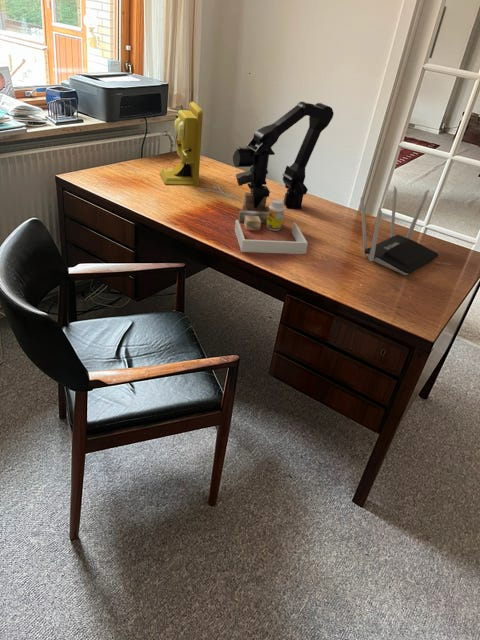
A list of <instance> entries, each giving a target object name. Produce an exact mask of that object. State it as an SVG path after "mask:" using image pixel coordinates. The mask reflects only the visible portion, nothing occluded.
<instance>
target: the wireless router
mask: <svg viewBox="0 0 480 640" xmlns="http://www.w3.org/2000/svg"><path fill="white" fill-rule="evenodd" d="M397 193H398V190H397V188H396V186H395V185H394V186H393V195H392V196H393V198H392V211H391V221H390V222H391V223H390V235H389V238H387V239H385V240H383V241H380V242H378V238H379V237H378V236H379V232H380V231H379V230H380V227H381V226H380V225H381V219H382V213H383V211H382V208H378V210H377V215H376V220H375V226H374V231H373V236H372V241H371V246H369V247H368V243H367V242H368V241H367V240H368V239H367V230H366V229H367V226H366V213H365V212H366V210H365V199H364V197H360V208H361V209H360V213H361V214H360V215H361V228H362V246H363V249H362V250H363V255H367V258H368V261H369V262H375V263H377V264H379V265H381V266H383V267H384V268H385V267H386V268H388V269H390V270H392V271H395V272H397V273H399V274H401V275H403V276H407V275H409V274H412V273H413V272H414V271H416V270H418V269H420V268H422V267H423V266H425V265H426V264H428V263H430V262H431V261H433V260H434V259H437V258H438V257H439V253H437V252H436V251H434V250H433V249H431V248H428V247H426V246H425V245H422V244H420V243H419V242H417V241H415V240H413V239H411V236H412V235H413V232H414V229H415V227H416V225H417V222H418V219H419V217H420V214H421V211H422V209H423V207H424V204H425V201H426V199H427V197H428V195H429V193H430V190H429V189H426V191H425V192H424V194H423V196H422V199H421V200H420V203H419V205H418V207H417V210H416V212H415V214H414V217H413V219H412V222H411V223H410V226H409V229H408V231H407V233H406V235H405V236H403V235H400V234H395V233H394V232H395V221H396V220H395V219H396V206H397V197H398V196H397ZM377 242H378V243H377Z"/></svg>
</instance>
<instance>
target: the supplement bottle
mask: <svg viewBox="0 0 480 640" xmlns="http://www.w3.org/2000/svg"><path fill="white" fill-rule="evenodd" d="M283 205H284V200H281V199H278V198H277V199H272V201H271V204H270V205H269V206H268V208H269V210H268V216H267V223H265V227H266V229H268V230H269V231H274V232H277V231H279V230H281V229H282V226H283V220H284V213H285V207H284V206H283Z"/></svg>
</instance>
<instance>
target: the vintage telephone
mask: <svg viewBox="0 0 480 640" xmlns="http://www.w3.org/2000/svg"><path fill="white" fill-rule="evenodd" d="M188 105H189V106H188V110H185V109H183V107H184V106H183V105H182V104H180V109H179V110H178V111H177V114H175V118H176V119H175V120H174V131H175V133H176V136H175V146H174V147H175V150H176V155H175V157H174V158H173V159H172V161H171V162H170V163H169V165H168V166H167V168H166V169H162V170H161V171H160V170H159V172H158V173H159V175H160V177H161V179H162V182H163V183H164V185H165V186H193V187H199V179H200V165H201V164H200V163H201V148H202V147H201V146H202V134H203V133H202V131H203V130H202V128H203V116H204V111H203V109H202V108H201V107H200V106H199V105H197V104H196V103H195V102H194V101H191V102H190V103H189V104H188ZM177 156H178V157H179V158H180V160H181V161H180V162H179V163H177V164H176V165H175V167H174V168H173V169H168V167H169V166H170V165H171V164H172V163H173V161H174V160H175V158H176V157H177Z"/></svg>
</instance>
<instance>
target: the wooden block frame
mask: <svg viewBox="0 0 480 640" xmlns="http://www.w3.org/2000/svg"><path fill="white" fill-rule="evenodd" d="M267 198H268V197H264V198H263V199H262V201H261V202H260V204H259V205H258V207H257V208H254V196H253V195H252V193H251V192H244V198H243V199H244V201H243V205H242V209H241V210H239V211H238V221H239V223H240V222H242V223H244V220H245V216H259V218H260V220H261V224H262V223H263V224H266V223H267V216H268V210H269V206H267V205H266V204H267V200H268V199H267Z"/></svg>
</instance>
